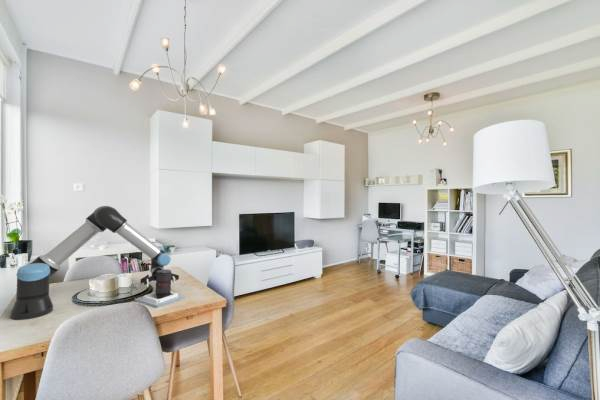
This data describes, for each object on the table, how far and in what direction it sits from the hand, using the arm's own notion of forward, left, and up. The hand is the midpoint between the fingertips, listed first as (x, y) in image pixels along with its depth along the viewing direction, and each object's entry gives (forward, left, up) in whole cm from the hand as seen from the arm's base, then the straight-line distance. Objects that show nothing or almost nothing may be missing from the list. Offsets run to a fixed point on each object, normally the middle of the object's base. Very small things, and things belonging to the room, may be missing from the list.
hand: (161, 282), depth 159 cm
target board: (-3, +2, -10) cm, 11 cm away
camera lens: (-2, +3, -9) cm, 10 cm away
